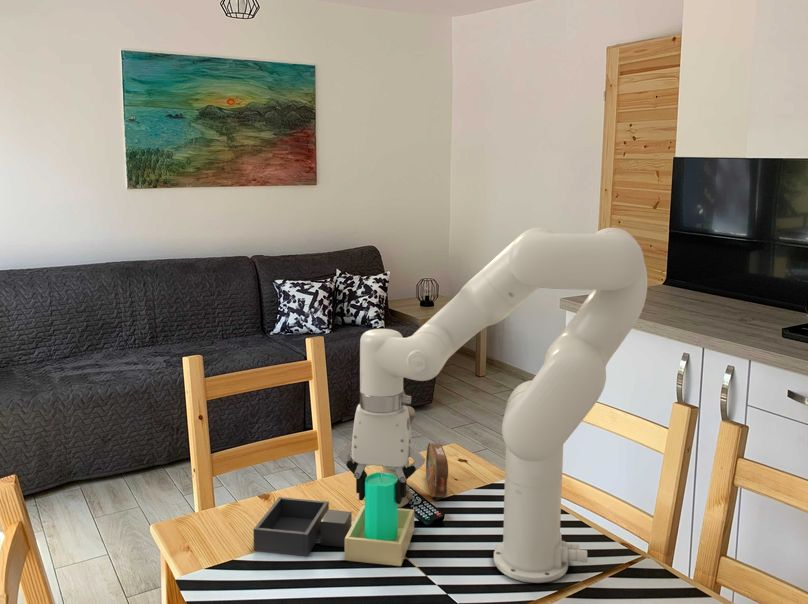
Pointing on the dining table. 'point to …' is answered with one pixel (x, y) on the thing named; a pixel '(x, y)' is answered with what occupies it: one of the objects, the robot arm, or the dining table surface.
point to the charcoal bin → (290, 526)
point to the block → (335, 527)
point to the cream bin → (379, 541)
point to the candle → (381, 507)
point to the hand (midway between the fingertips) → (381, 497)
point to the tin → (436, 470)
